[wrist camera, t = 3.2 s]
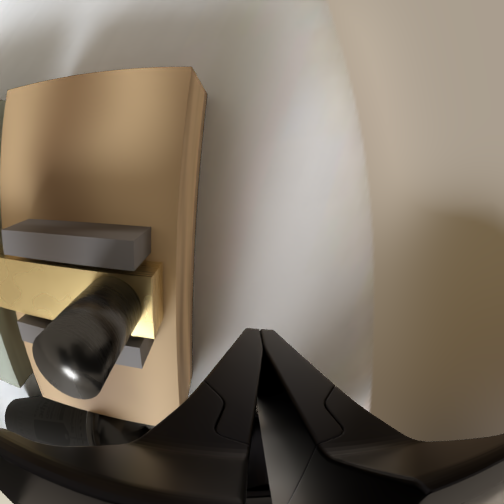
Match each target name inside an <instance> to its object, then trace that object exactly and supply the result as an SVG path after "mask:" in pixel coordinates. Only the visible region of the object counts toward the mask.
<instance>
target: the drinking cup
mask: <svg viewBox="0 0 504 504" xmlns="http://www.w3.org/2000/svg"><path fill="white" fill-rule="evenodd" d="M5 424H6V427H7V430H9V431H11V432H14V433H16V434H18V435H20V436H22V437H24V438H26V439H29V440H31V441H34V442H38V443H41V444H46V445H53V446H106V445H121V444H127V443H130V442H133V441H135V440H137V439H139V438H140V437H142V436H143V435H145V434H146V433H147V432H148V431H150V430H151V429H152V428H153V427H155V426H153V425H147V424H142V423H137V422H132V421H127V420H122V419H118V418H114V417H109V416H105V415H101V414H97V413H94V412H90V411H86V410H83V409H79V408H76V407H72V406H69V405H66V404H63V403H60V402H57V401H54V400H51V399H48V398H45V397H43V396H37V397H28V398H19V399H15V400H13V401H12V402H11V403H10V404H9V405H8V407H7V409H6V412H5Z"/></svg>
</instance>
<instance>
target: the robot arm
mask: <svg viewBox="0 0 504 504" xmlns="http://www.w3.org/2000/svg"><path fill="white" fill-rule="evenodd" d="M256 405H257V408H258V413H256ZM0 490H1V491H2V492H3V493H4V495H6V496H7V498H8V499H9V500H10V501H12V503H14V504H504V434H500V435H496V436H491V437H484V438H474V439H465V440H452V441H433V442H425V441H418V440H414V439H412V438H409V437H407V436H405V435H403V434H401V433H400V432H398V431H397V430H395V429H394V428H392V427H391V426H389V425H388V424H386V423H385V422H383V421H382V420H380V419H378V418H377V417H376V416H374V415H372V414H371V413H370V412H368V411H367V410H365V409H364V408H363V407H361V406H360V405H358V404H357V403H356V402H354V401H353V400H352V399H351V398H349V397H348V396H347V395H346V394H345V393H343V392H342V391H341V390H340V389H339V388H338V387H335V385H334V384H333V383H332V382H331V381H329V380H328V379H327V378H326V377H325V376H324V375H323V374H322V373H320V372H319V371H318V370H317V369H316V368H315V367H314V366H313V365H311V364H310V363H309V362H308V361H307V360H306V359H305V358H304V357H302V356H301V355H300V354H299V353H298V352H297V351H296V350H295V349H294V348H293V347H291V346H290V345H289V344H288V343H287V342H286V341H285V340H284V339H283V338H282V337H281V336H279V335H278V334H277V333H276V332H275V331H274V330H267V329H261V330H260V331H259V329H252V328H246V329H245V330H244V331H243V333H242V334H241V335H240V336H239V338H238V339H237V340H236V341H235V343H234V344H233V345H232V346H231V348H230V349H229V350H228V351H227V353H226V354H225V355H224V356H223V357H222V359H221V360H220V361H219V362H218V364H217V365H216V366H215V367H214V369H213V370H212V371H211V372H210V373H209V375H208V376H207V377H206V378H205V379H204V381H203V382H202V383H201V384H200V385H199V386H198V388H197V389H196V390H195V391H194V392H193V393H192V394H191V395H190V396H189V398H188V399H187V400H186V401H184V402H183V403H182V404H181V405H180V406H179V407H178V408H177V409H176V410H174V411H173V412H172V413H171V414H169V415H168V416H167V417H166V418H165V419H163V420H162V421H161V422H160V423H158V424H157V425H156V426H155V427H153V428H152V429H151V430H150V431H148V432H147V433H146V434H145V435H143V436H142V437H140V438H139V439H137V440H135V441H133V442H130V443H127V444H121V445H106V446H53V445H46V444H41V443H38V442H34V441H31V440H29V439H26V438H24V437H22V436H20V435H18V434H16V433H14V432H11V431H9V430H6V429H3V428H0Z"/></svg>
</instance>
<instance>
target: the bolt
mask: <svg viewBox="0 0 504 504" xmlns="http://www.w3.org/2000/svg"><path fill="white" fill-rule="evenodd" d="M0 307H3V308H6V309H10V310H14V311H17V312H21V313H25V314H29V315H33V316H37V317H41V318H45V319H49V320H53V321H52V322H51V323H50V324H49V325H48V326H47V327H46V328H45V329H44V330H43V331H42V332H41V333H40V334H39V335H38V336H37V337H36V338H35V340H34V342H33V346H32V352H33V357H34V360H35V363H36V365H37V367H38V369H39V371H40V372H41V374H42V375H43V376H44V377H45V379H46V380H47V381H48V382H49V383H50V384H51V385H52V386H54V387H55V388H56V389H58V390H59V391H61V392H62V393H64V394H66V395H68V396H70V397H73V398H77V399H91V398H94V397H96V396H97V395H98V394H99V393H100V391H101V389H102V387H103V385H104V383H105V382H106V380H107V378H108V376H109V374H110V372H111V370H112V369H113V367H114V365H115V363H116V361H117V359H118V358H119V356H120V354H121V352H122V350H123V348H124V347H125V345H126V343H127V341H128V340H129V338H130V336H131V335H132V336H139V337H145V338H152V339H154V338H155V336H156V333H157V331H158V329H159V327H160V325H161V322H162V320H163V318H164V313H163V262H156V261H146V260H144V261H143V262H142V263H141V264H140V265H139V266H138V268H137V269H136V270H135V271H128V270H119V269H110V268H102V267H93V266H85V265H77V264H69V263H61V262H54V261H46V260H39V259H32V258H25V257H18V256H11V255H4V250H3V245H2V244H0Z"/></svg>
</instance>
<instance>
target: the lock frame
mask: <svg viewBox="0 0 504 504" xmlns="http://www.w3.org/2000/svg"><path fill="white" fill-rule="evenodd" d="M206 101H207V93H206V91H205V90H204V88H203V86H202V84H201V82H200V81H199V79H198V77H197V75H196V73H195V72H194V70H193V68H192V67H153V68H135V69H122V70H112V71H103V72H95V73H87V74H80V75H74V76H68V77H63V78H57V79H52V80H47V81H43V82H38V83H34V84H30V85H26V86H22V87H18V88H14V89H10V90H7V96H6V101H4V100H0V244H2V245H3V250H4V255H11V256H18V257H25V258H32V259H39V260H46V261H54V262H61V263H69V264H77V265H85V266H93V267H102V268H110V269H119V270H128V271H135V270H136V269H137V268H138V266H139V265H140V264H141V263H142V262H143V261H144V260H146V261H156V262H163V313H164V318H163V320H162V322H161V325H160V327H159V329H158V331H157V333H156V336H155V338H154V339H152V338H145V337H139V336H132V335H131V336H130V338H129V340H128V341H127V343H126V345H125V347H124V348H123V350H122V352H121V354H120V356H119V358H118V359H117V361H116V363H115V365H114V367H113V369H112V370H111V372H110V374H109V376H108V378H107V380H106V382H105V383H104V385H103V387H102V389H101V391H100V393H99V394H98V395H97V396H96V397H94V398H91V399H77V398H73V397H70V396H68V395H66V394H64V393H62V392H61V391H59V390H58V389H56V388H55V387H54V386H52V385H51V384H50V383H49V382H48V381H47V380H46V379H45V377H44V376H43V375H42V374H41V372H40V371H39V369H38V367H37V365H36V363H35V360H34V357H33V352H32V346H33V342H34V340H35V338H36V337H37V336H38V335H39V334H40V333H41V332H42V331H43V330H44V329H45V328H46V327H47V326H48V325H49V324H50V323H51V322H52V321H53V320H49V319H45V318H41V317H37V316H33V315H29V314H25V313H21V312H17V311H14V310H10V309H6V308H3V307H0V380H2V381H5V382H7V383H9V384H11V385H14V386H16V387H19V388H21V387H22V386H23V384H24V383H25V382H26V380H27V379H28V378H29V377H30V375H31V374H32V373H33V372H34V375H35V377H36V380H37V383H38V385H39V388H40V390H41V393H42V395H43V397H45V398H48V399H51V400H54V401H57V402H60V403H63V404H66V405H69V406H72V407H76V408H79V409H83V410H86V411H90V412H94V413H97V414H101V415H105V416H109V417H114V418H118V419H122V420H127V421H132V422H137V423H142V424H147V425H153V426H156V425H157V424H158V423H160V422H161V421H162V420H163V419H165V418H166V417H167V416H168V415H169V414H171V413H172V412H173V411H174V410H176V409H177V408H178V407H179V406H180V405H181V404H182V403H183V402H184V401H186V400H187V398H188V393H189V388H190V383H191V379H192V309H193V273H194V248H195V229H196V212H197V197H198V183H199V171H200V159H201V148H202V138H203V128H204V118H205V109H206Z"/></svg>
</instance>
